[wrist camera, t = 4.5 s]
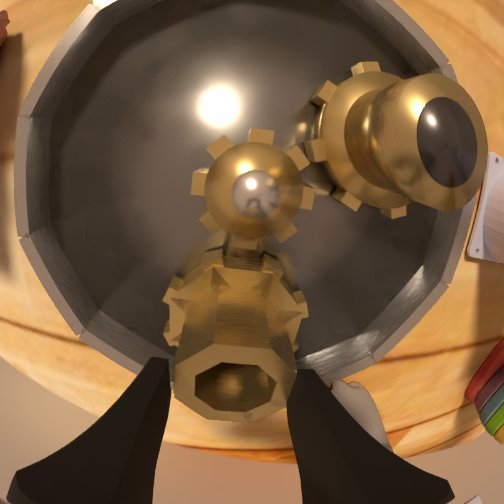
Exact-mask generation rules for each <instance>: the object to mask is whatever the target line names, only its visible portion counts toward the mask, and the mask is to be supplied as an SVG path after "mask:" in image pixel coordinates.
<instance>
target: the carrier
mask: <svg viewBox="0 0 504 504" xmlns="http://www.w3.org/2000/svg"><path fill="white" fill-rule="evenodd" d="M93 4H94V5H91V4H88V6H87V7H86V8H85V9H84V10H83V11H82V13H81V14H80V15H79V16H78V17H77V19H76V20H75V21H74V22H73V24H72V25H71V26H70V28H69V29H68V30H67V31H66V33H65V34H64V36H63V37H62V38H61V40H60V41H59V43H58V44H57V45H56V47H55V48H54V50H53V51H52V53H51V54H50V56H49V58H48V59H47V61H46V62H45V64H44V66H43V67H42V69H41V71H40V72H39V74H38V76H37V78H36V79H35V81H34V83H33V85H32V87H31V89H30V91H29V92H28V94H27V96H26V98H25V100H24V102H23V105H22V107H21V109H20V111H19V113H20V114H21V115H22V116H19V117H17V126H16V136H15V151H14V200H15V215H16V225H17V234H18V236H19V237H22V238H21V239H20V240H19V241H20V244H21V246H22V248H23V250H24V252H25V254H26V256H27V258H28V260H29V262H30V263H31V265H32V267H33V269H34V271H35V273H36V274H37V276H38V278H39V280H40V281H41V283H42V285H43V287H44V288H45V290H46V292H47V293H48V295H49V296H50V298H51V300H52V301H53V303H54V304H55V306H56V307H57V309H58V310H59V312H60V313H61V315H62V316H63V318H64V319H65V321H66V322H67V324H68V325H69V326H70V328H71V329H72V331H73V332H74V333H75V335H79V334H80V336H79V339H81V340H82V341H84V342H85V343H87V344H88V345H89V346H91V347H92V348H94V349H95V350H97V351H98V352H100V353H102V354H103V355H105V356H106V357H108V358H109V359H111V360H113V361H114V362H116V363H117V364H119V365H121V366H122V367H124V368H126V369H128V370H129V371H131V372H133V373H135V374H136V375H138V374H139V373H140V371H141V370H142V369H143V367H144V366H145V364H146V363H147V362H148V360H149V359H150V358H151V357H152V356H153V357H159V358H165V359H169V373H170V385H171V390H172V389H173V393H174V377H173V365H174V360H175V356H176V352H177V348H178V347H177V346H176V345H174V346H169V344H168V342H167V340H166V338H165V336H164V335H163V331H164V329H165V326H166V323H167V320H170V305H169V304H167V303H165V302H163V301H162V300H163V298H164V296H165V293H166V291H167V289H168V287H169V285H170V283H171V281H172V279H173V277H174V275H175V276H176V277H178V278H180V279H182V278H183V277H185V276H186V275H187V274H189V273H190V272H191V271H193V270H194V269H196V268H197V267H198V266H200V265H201V264H202V260H203V256H204V253H205V252H209V251H213V250H217V249H221V248H223V251H224V254H225V255H226V256H234V257H242V258H250V259H258V260H261V258H262V257H263V255H264V254H266V255H268V256H270V257H272V258H274V259H275V260H277V261H279V262H280V263H281V266H282V268H283V271H284V274H283V275H282V278H283V279H284V280H285V282H286V283H287V284H288V285H289V287H290V288H291V289H292V291H293V292H296V291H300V290H301V291H302V293H303V295H304V298H305V300H306V303H307V309H308V315H309V317H307V318H303V319H301V322H300V325H299V329H298V332H297V335H296V338H297V342H298V345H299V348H298V349H297V350H296V351H295V352H294V356H295V360H296V364H297V368H298V369H314V370H315V371H316V373H317V374H318V375H319V377H320V378H321V379H322V380H323V382H324V383H325V384H326V385H327V384H330V383H332V382H335V381H337V380H340V379H342V378H345V377H347V376H349V375H352V374H354V373H356V372H359V371H361V370H363V369H366V368H368V367H370V366H372V365H374V364H375V361H377V362H379V361H380V360H381V359H382V358H383V357H384V356H385V355H386V354H387V353H388V352H389V351H390V350H392V349H393V348H394V347H395V346H396V345H397V344H398V343H399V342H400V341H401V340H402V339H403V338H404V337H405V336H406V335H407V334H408V333H409V332H410V331H411V330H412V328H413V327H414V326H415V325H416V324H417V323H418V322H419V321H420V320H421V319H422V318H423V317H424V315H425V314H426V313H427V312H428V311H429V310H430V309H431V308H432V306H433V305H434V304H435V303H436V302H437V301H438V299H439V298H440V297H441V296H442V295H443V293H444V292H445V291H446V290H447V288H448V287H449V286H448V285H447V284H446V283H450V284H451V281H452V279H453V276H454V273H455V270H456V268H457V265H458V262H459V259H460V256H461V253H462V250H463V247H464V243H465V240H466V237H467V233H468V230H469V226H470V222H471V218H472V214H473V210H474V206H475V201H476V196H477V191H478V190H479V188H480V186H481V184H482V181H483V179H484V175H485V172H486V167H487V159H488V144H487V136H486V130H485V127H484V123H483V120H482V117H481V115H480V112H479V110H478V108H477V106H476V105H475V103H474V101H473V100H472V98H471V97H470V95H469V94H468V93H467V92H466V91H465V90H464V89H463V88H462V87H461V86H460V85H459V84H458V81H457V78H456V75H455V73H454V70H453V67H452V65H451V64H447V63H448V62H449V60H448V58H447V57H446V56H445V55H444V53H443V52H442V51H441V50H440V49H439V47H438V46H437V45H436V44H435V43H434V42H433V40H432V39H431V38H430V37H429V36H428V35H427V34H426V33H425V32H424V30H423V29H422V28H421V27H420V26H419V25H418V24H417V23H416V22H415V21H414V20H413V19H412V18H411V17H410V16H409V15H408V14H407V13H406V12H405V11H404V10H403V9H402V8H400V7H399V6H398V5H397V4H396V3H395V2H394V1H393V0H93ZM374 360H375V361H374Z"/></svg>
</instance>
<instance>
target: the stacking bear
mask: <svg viewBox="0 0 504 504" xmlns="http://www.w3.org/2000/svg"><path fill="white" fill-rule="evenodd" d="M465 395H466V398H467V399H468V400H469V401H471V402H473V403H475V405H476V409H477V411H478V414H479V417H480V420H481V422H482V424H483V426H484V427H485V429H486V431H487V432H488V433H489V434H490V435H491V436H494V438H495V439H496V440H497V441H498V442H499V443H501V444H504V339H503V340H501V342H500V343H499V344H498V345H497V346H496V348H495V349H494V350H493V351H492V353H491V354H490V355H489V357H488V358H487V359H486V361H485V362H484V363H483V365H482V366H481V367H480V369H479V370H478V372H477V373H476V375H475V376H474V378H473V379H472V381H471V382H470V384H469V386H468V388H467V390H466V394H465Z"/></svg>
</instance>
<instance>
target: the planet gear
mask: <svg viewBox="0 0 504 504" xmlns="http://www.w3.org/2000/svg"><path fill="white" fill-rule="evenodd" d="M283 274H284V271H283V268H282V266H281V263H280V262H279V261H277V260H275V259H274V258H272V257H270V256H268V255H266V254H264V255H263V257H262V258H261V260H258V259H250V258H242V257H234V256H226V255H225V254H224V251H223V248H221V249H217V250H213V251H209V252H205V253H204V256H203V260H202V264H201V265H200V266H198V267H197V268H196V269H194V270H193V271H191V272H190V273H189V274H187V275H186V276H185V277H183V278H182V279H180V278H178V277H176V276H175V275H174V277H173V279H172V281H171V283H170V285H169V287H168V289H167V291H166V293H165V296H164V298H163V300H162V301H163V302H165V303H167V304H169V305H170V320H167V323H166V326H165V329H164V331H163V335H164V336H165V338H166V340H167V342H168V344H169V346H174V345H176V346H177V347H178V348H177V352H176V356H175V360H174V365H173V377H174V395H175V398H176V399H177V400H179V401H180V402H182V403H183V404H184V405H186V406H187V407H189V408H190V409H192V410H193V411H195V412H196V413H198V414H200V415H201V416H203V417H204V418H206V419H211V420H222V421H236V422H252V421H255V420H257V419H260V418H262V417H264V416H267V415H269V414H271V413H274V412H276V411H278V410H280V409H283V408H285V407H287V406H286V402H287V400H288V397H289V395H290V392H291V389H292V387H293V384H294V381H295V379H296V376H297V370H298V368H297V364H296V360H295V356H294V352H295V351H296V350H297V349H298V348H299V345H298V342H297V338H296V335H297V332H298V329H299V325H300V322H301V319H303V318H307V317H309V315H308V309H307V303H306V300H305V298H304V295H303V293H302V291H301V290H300V291H296V292H293V291H292V289H291V288H290V287H289V285H288V284H287V283H286V282H285V280H284V279H283V278H282V275H283Z"/></svg>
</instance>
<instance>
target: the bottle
mask: <svg viewBox="0 0 504 504" xmlns="http://www.w3.org/2000/svg"><path fill="white" fill-rule="evenodd" d="M332 388H333V389H332V390H331V392H332V393H333V395H334V396H335V397H336V398H337V400H338V401H339V402H340V403H341V404H342V406H343V407H344V408H345V409H346V410H347V411H348V413H349V414H350V415H351V416H352V417H353V418H354V419H355V420H356V421H357V422H358V423H359V424H360V425H361V426H362V427H363V428H364V429H365V430H366V431H367V432H368V433H369V434H370V435H371V436H372V437H373V438H375V439H376V440H377V441H378V442H379V443H381V444H382V445H383V446H384V447H386V448H387V449H388V450H390V451H391V452H393V449H392V447H391V445H390V443H389V441H388V438H387V435H386V432H385V429H384V426H383V423H382V420H381V417H380V415H379V412H378V409H377V407H376V404H375V402H374V400H373V399H372V397H371V395H370V394H369V392H368V391H367V390H366V388H365V387H364V386H363V385H361V384H359V383H357V382H351V383H349V384H347V383H345V382H344V381H343V380H337V381H335V382H332ZM393 453H394V452H393Z"/></svg>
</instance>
